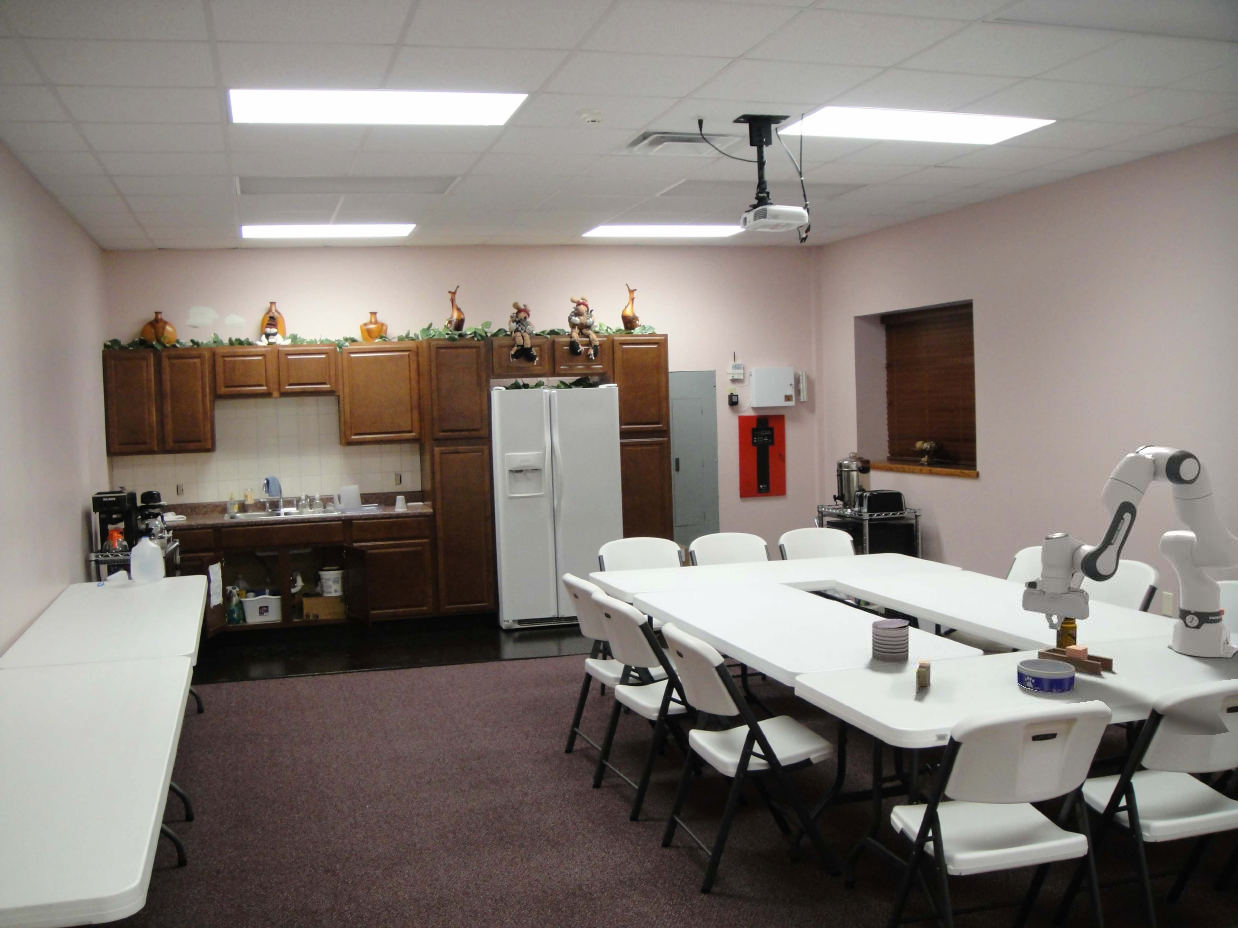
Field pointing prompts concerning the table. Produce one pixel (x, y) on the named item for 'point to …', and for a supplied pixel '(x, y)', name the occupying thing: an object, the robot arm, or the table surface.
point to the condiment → (1066, 634)
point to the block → (1077, 652)
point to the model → (922, 674)
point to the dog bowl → (1046, 675)
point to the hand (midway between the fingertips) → (1054, 629)
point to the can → (890, 640)
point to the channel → (1078, 660)
